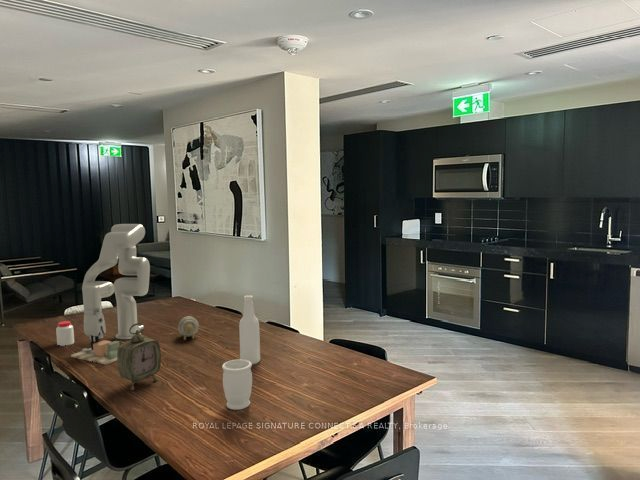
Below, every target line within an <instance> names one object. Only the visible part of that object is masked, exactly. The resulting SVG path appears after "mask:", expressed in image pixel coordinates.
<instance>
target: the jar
mask: <svg viewBox="0 0 640 480" xmlns="http://www.w3.org/2000/svg"><path fill="white" fill-rule="evenodd" d="M221 366H222V367H221V368H222V370H223V374H222V387H223V392H224V396H225V399H226V401H227V402H226V408H228V409H230V410H235V411H236V410H237V411H239V410H243V409H246V408H248V407H249V406H250V405H251V400H250V397H251V395H252V387H253V374H252V370H251V369H252V366H253V365H252V363H251V362H250V361H248V360H243V359H232V360H228V361H226V362H224V363H223V364H222V365H221Z"/></svg>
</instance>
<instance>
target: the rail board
mask: <svg viewBox="0 0 640 480" xmlns="http://www.w3.org/2000/svg"><path fill="white" fill-rule="evenodd" d="M119 346H121V345H120V341H119V340H114V341H111V343H108V344H107V353H105V354H104V357H100V356H95V354H94V351H93V350H91V347H90V348H86V347H84V348H82V349H81V351H78V352H77V351H76V352H75V353H72V354H70V357H71V358H75V359H78V360H84V361H88V362H92V361H93V363H96V362H97V364H100V365H105V366H106V365H108V364H112V363H114V362H117V351H118V347H119Z"/></svg>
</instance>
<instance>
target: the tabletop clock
mask: <svg viewBox="0 0 640 480" xmlns="http://www.w3.org/2000/svg"><path fill="white" fill-rule="evenodd" d="M135 325H137V326H138V325H139V326H141V325H143V326H144V328H143V329H140V330H139V331H138V330H136V333H132V332H131V331H130V330H131V328H132V327H133V326H135ZM145 327H146V326H145V324H144V323H142V322H137V323H136V324H134V325H132V326H131V327H130V329H129V332H130V333H131V334H135V335H133V336H132V338H131V339H130V340H129V341H127V342H124V343H122V344H121V345H120V346H119V347H118V351H117V361H116V363H117V370H118V373H119V376H120V378H121V379H126V380H130V381H131V386H130V387H129V388H130V389H129V390H130V391H134V390H135V386H134V384H138V383H139V381H142V380H145V379H149V378H150V377H152V378H153V379H152V380H153V381H154V382H156V381H157V380H158V377H157V376H155V375H156V374H157V373H158V372H159V371H160V369H161V363H162V361H161V360H162V356H161V347H160V343H159V341H158V340H156V339H151V338H147V337H145V336H144V335H143V334H142V332H143V331H144V330H145ZM139 333H141V334H139Z"/></svg>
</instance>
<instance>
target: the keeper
mask: <svg viewBox="0 0 640 480" xmlns="http://www.w3.org/2000/svg"><path fill="white" fill-rule="evenodd" d="M111 342H112V341H110V340H101V341H100V340H99V342H97V343H94V344H93V351H94V354H95V356H100V357H104V354H105V353H107V344H108V343H111Z"/></svg>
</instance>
